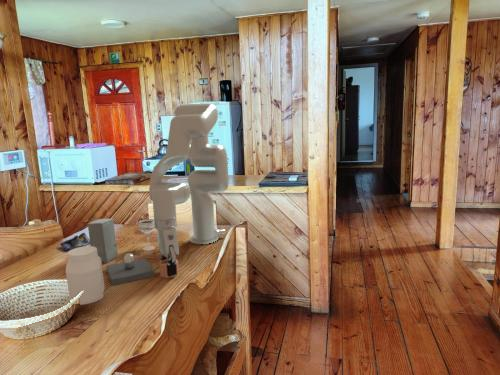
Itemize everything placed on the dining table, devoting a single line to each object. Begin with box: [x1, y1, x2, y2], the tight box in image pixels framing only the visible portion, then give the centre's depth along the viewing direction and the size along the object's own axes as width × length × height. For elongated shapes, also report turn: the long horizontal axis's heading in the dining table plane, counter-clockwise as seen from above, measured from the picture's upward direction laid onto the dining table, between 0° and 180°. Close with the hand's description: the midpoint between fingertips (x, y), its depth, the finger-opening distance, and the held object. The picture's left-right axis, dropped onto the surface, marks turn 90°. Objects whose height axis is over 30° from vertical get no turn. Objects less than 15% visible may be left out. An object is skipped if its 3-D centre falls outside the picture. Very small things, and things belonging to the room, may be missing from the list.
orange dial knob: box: [158, 258, 180, 279], centre depth 133 cm, size 6×6×5 cm
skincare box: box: [87, 218, 118, 264], centre depth 149 cm, size 8×7×16 cm
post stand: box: [106, 252, 155, 286], centre depth 135 cm, size 14×14×7 cm
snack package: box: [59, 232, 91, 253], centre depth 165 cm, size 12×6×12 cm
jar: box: [65, 245, 105, 306], centre depth 118 cm, size 12×10×15 cm
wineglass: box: [138, 218, 156, 251], centre depth 160 cm, size 7×7×12 cm
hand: (169, 271), depth 134 cm, fingers closed on orange dial knob, 6 cm apart
